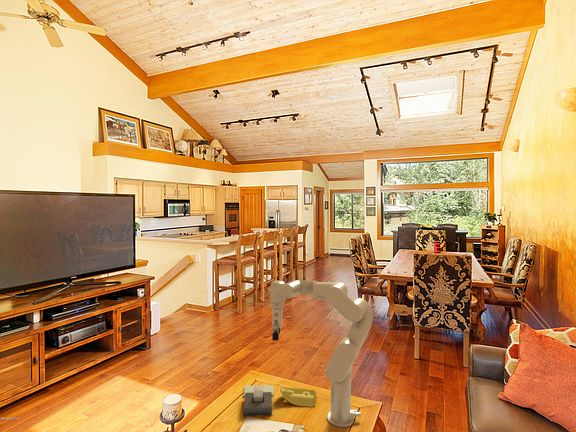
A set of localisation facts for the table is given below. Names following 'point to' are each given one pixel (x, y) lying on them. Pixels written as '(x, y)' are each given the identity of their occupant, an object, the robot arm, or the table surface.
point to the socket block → (257, 405)
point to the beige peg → (258, 394)
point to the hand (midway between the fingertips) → (276, 336)
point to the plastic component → (299, 396)
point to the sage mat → (265, 387)
